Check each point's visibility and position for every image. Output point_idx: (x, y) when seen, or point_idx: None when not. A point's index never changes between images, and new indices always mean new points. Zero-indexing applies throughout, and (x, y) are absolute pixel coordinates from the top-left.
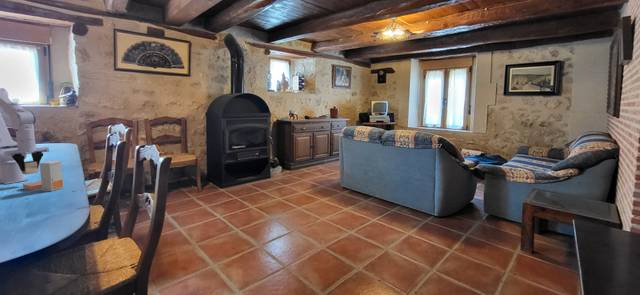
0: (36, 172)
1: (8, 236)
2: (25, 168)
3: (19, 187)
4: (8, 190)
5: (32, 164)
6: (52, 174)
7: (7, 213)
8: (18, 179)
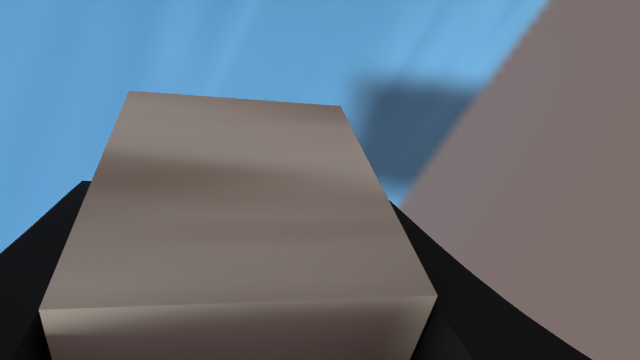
0: (158, 99)
1: None
2: (375, 191)
3: (364, 76)
4: (495, 35)
5: (217, 241)
6: None
7: None
8: None
